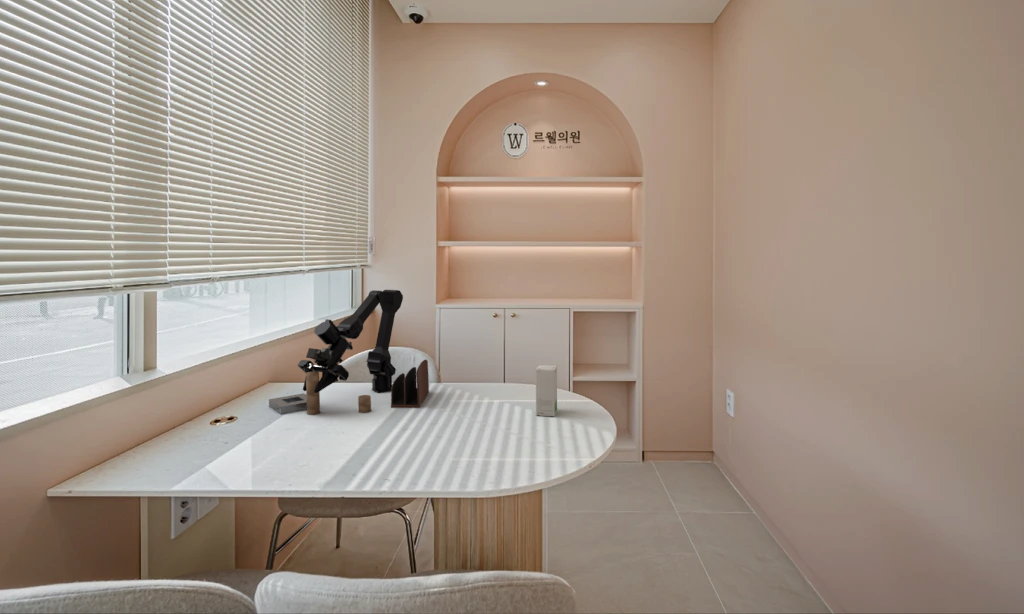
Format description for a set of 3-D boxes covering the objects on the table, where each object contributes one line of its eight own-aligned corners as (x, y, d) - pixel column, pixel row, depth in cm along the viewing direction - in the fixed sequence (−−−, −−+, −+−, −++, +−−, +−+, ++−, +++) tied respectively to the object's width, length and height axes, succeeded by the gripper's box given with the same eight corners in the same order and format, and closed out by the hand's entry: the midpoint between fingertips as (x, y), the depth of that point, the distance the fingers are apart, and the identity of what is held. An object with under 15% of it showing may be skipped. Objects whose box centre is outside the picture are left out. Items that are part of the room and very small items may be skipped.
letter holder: (429, 393, 199) (428, 356, 197) (419, 408, 179) (419, 368, 178) (402, 393, 199) (402, 356, 198) (390, 408, 179) (389, 367, 178)
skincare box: (554, 417, 170) (555, 370, 168) (534, 416, 171) (534, 369, 169) (557, 410, 178) (558, 364, 176) (538, 408, 179) (538, 364, 177)
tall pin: (317, 410, 175) (316, 371, 174) (321, 413, 172) (320, 373, 171) (305, 412, 173) (304, 372, 172) (309, 415, 170) (307, 374, 168)
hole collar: (304, 400, 188) (303, 393, 187) (317, 407, 179) (317, 400, 179) (269, 406, 180) (268, 399, 179) (281, 414, 171) (280, 406, 171)
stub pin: (368, 408, 178) (367, 394, 177) (372, 411, 175) (372, 396, 174) (356, 410, 175) (356, 396, 175) (361, 413, 172) (360, 398, 172)
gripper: (301, 336, 178) (274, 374, 169) (341, 340, 169) (315, 381, 161) (320, 355, 186) (295, 392, 177) (359, 360, 177) (335, 400, 168)
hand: (309, 391), depth 171 cm, fingers open, 5 cm apart
